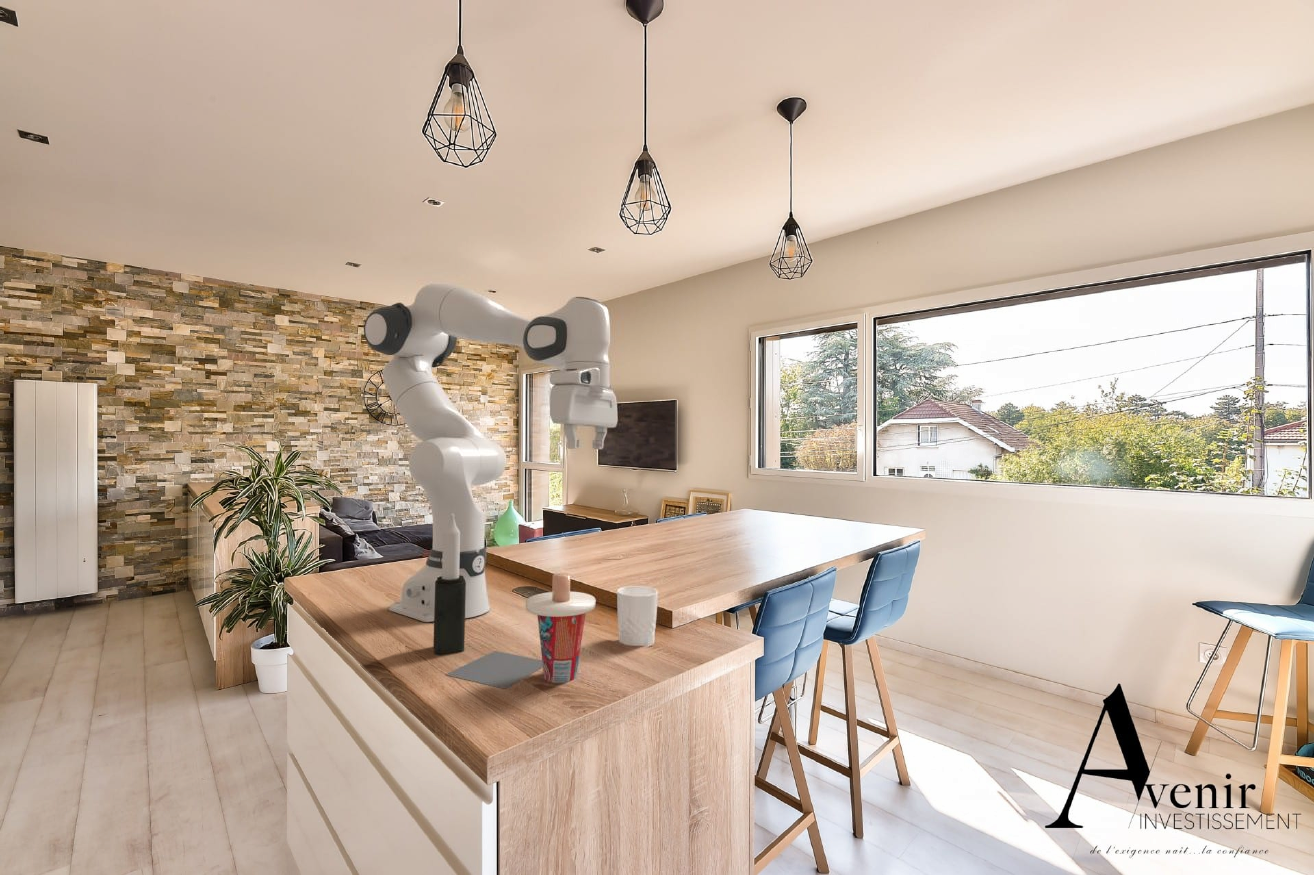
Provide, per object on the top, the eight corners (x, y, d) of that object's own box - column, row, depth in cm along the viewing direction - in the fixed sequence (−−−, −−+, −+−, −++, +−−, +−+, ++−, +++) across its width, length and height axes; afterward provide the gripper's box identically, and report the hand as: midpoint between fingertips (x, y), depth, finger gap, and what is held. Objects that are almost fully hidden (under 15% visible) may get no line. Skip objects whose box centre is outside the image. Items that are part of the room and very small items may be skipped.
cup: (562, 665, 97) (564, 595, 98) (597, 678, 92) (598, 604, 92) (517, 682, 90) (519, 606, 90) (552, 697, 85) (554, 616, 85)
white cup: (652, 651, 105) (653, 597, 105) (611, 648, 106) (612, 594, 107) (660, 637, 112) (661, 587, 113) (622, 634, 114) (623, 584, 114)
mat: (445, 678, 91) (445, 674, 91) (495, 654, 102) (495, 650, 102) (505, 692, 86) (505, 688, 86) (550, 665, 97) (550, 662, 97)
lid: (511, 610, 88) (511, 578, 88) (551, 594, 98) (552, 565, 98) (571, 620, 84) (572, 586, 84) (607, 602, 94) (608, 571, 94)
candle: (433, 649, 104) (436, 512, 104) (462, 645, 106) (465, 511, 106) (434, 658, 99) (437, 515, 100) (464, 655, 101) (468, 514, 102)
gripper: (599, 385, 124) (598, 449, 123) (544, 373, 105) (542, 448, 105) (625, 384, 121) (624, 449, 121) (573, 372, 103) (571, 448, 102)
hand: (585, 449), depth 113 cm, fingers open, 8 cm apart
